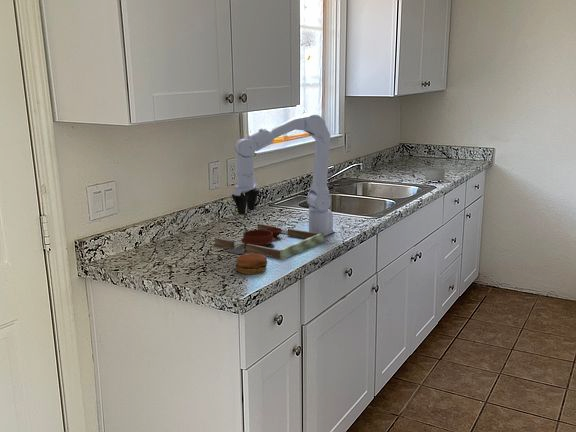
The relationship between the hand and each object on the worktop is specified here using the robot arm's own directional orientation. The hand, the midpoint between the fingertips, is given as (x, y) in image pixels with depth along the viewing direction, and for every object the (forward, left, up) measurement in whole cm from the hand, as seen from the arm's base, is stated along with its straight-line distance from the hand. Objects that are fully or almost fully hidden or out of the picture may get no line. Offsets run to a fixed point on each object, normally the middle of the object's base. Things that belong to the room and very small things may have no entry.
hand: (246, 212), depth 201 cm
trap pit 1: (+13, +5, -10) cm, 17 cm away
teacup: (-152, +11, -11) cm, 152 cm away
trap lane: (-2, +9, -10) cm, 14 cm away
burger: (+24, +21, -11) cm, 34 cm away
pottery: (-2, +6, -11) cm, 13 cm away
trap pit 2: (-16, +5, -10) cm, 20 cm away
